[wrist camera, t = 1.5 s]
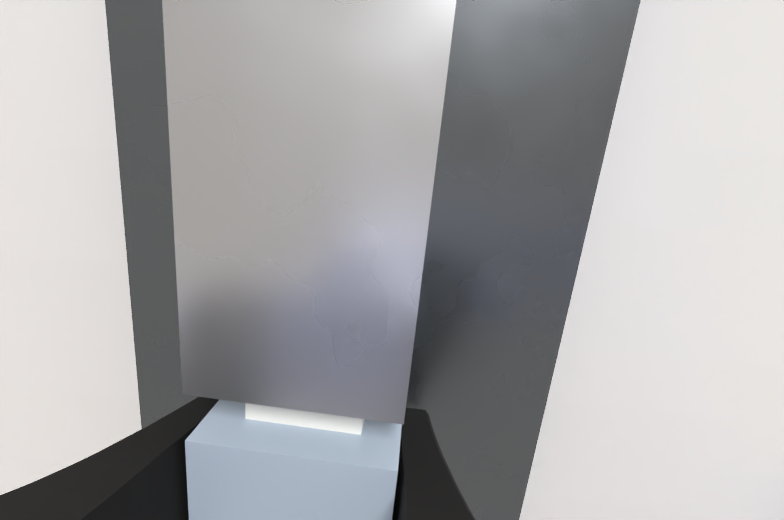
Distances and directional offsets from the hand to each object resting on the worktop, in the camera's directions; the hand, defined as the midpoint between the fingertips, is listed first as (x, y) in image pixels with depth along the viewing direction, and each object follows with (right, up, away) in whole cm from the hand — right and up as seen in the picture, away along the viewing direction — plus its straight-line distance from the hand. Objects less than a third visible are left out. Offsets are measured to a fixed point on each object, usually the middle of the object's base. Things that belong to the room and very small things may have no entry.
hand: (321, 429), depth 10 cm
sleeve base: (0, 0, +3) cm, 3 cm away
